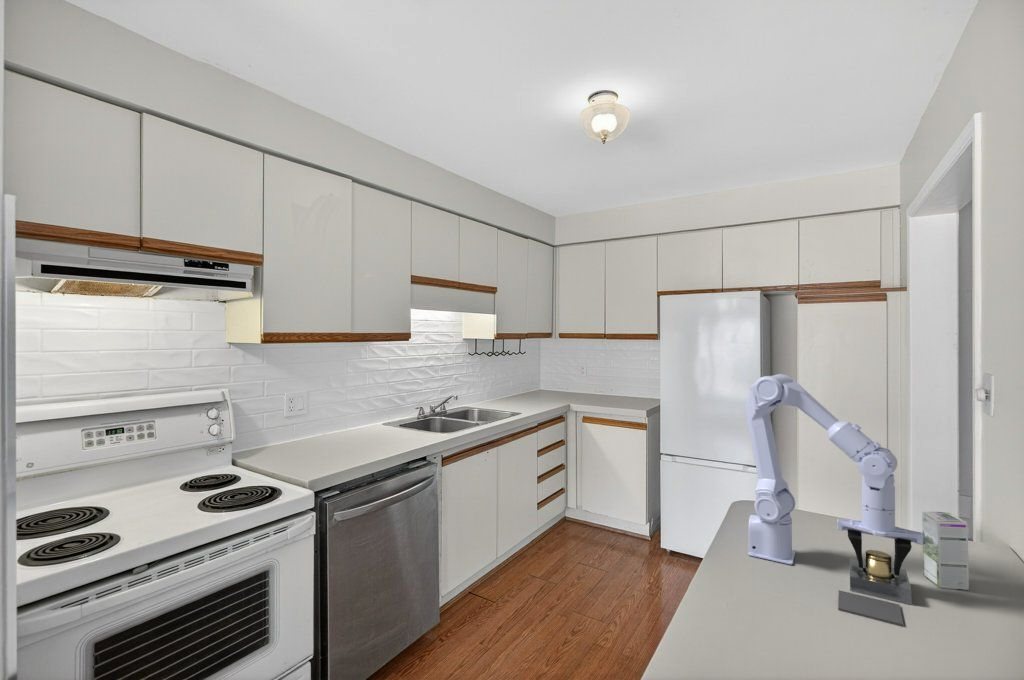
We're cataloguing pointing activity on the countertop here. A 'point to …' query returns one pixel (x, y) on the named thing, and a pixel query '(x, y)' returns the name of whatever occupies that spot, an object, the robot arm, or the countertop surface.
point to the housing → (880, 584)
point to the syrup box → (945, 550)
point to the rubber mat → (870, 608)
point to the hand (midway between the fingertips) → (878, 569)
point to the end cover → (878, 564)
